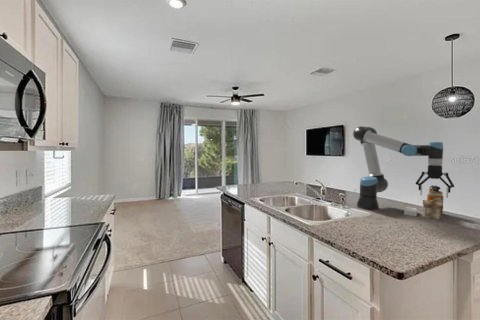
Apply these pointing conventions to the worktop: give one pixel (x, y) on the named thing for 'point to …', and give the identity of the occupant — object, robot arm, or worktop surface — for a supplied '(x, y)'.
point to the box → (432, 213)
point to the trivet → (410, 211)
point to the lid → (432, 204)
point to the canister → (435, 195)
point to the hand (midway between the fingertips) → (433, 196)
